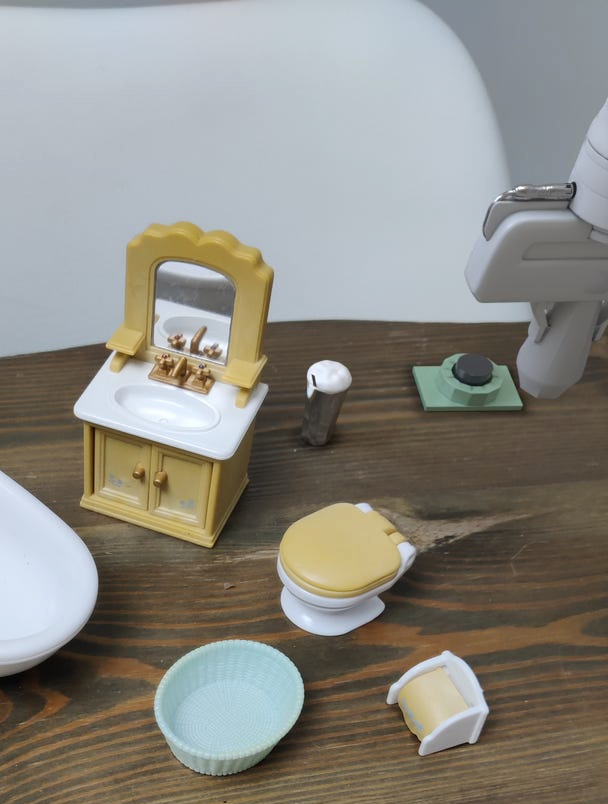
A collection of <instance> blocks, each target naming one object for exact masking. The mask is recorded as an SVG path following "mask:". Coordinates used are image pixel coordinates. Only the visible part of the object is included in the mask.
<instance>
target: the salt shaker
mask: <svg viewBox="0 0 608 804" xmlns="http://www.w3.org/2000/svg"><path fill="white" fill-rule="evenodd" d="M607 292H608V271H601V272H597V273H593V274H591V275H590V277H589V278H588V280H587V281H586V284H585V287H584V293H591V294H601V293H607ZM603 302H604V301H566V302H555V304H554V306H553V308H552V310H547V311H546V310H545V314H546V320H547V324H549V325H550V326H552V327H551V329H550V330H549V332H548V333H547V335H546V336H545V338H544V339H543V341H541V342H532V341H531V339H530V337H529V335H528V336H527V338H526V339H525V341H524V342H523V343H522V345H521V347H520V348H519V351H518V353H517V357H516V361H515V363H516V369H517V373H518V378H519V388H520V389H521V390H523V391H524V392H526V393H527V394H529V395H531V396H532V397H534V398H535V399H558V398H559V397H560V396H561V395H562V394H563V393H564V392H566V391H567V390H568V389H570V388H571V387H572V386H574V385H575V384H576V383H578V382H579V381H580V380H581V378H582V377H583V375H584V371H585V369H586V366H587V361H588V358H589V355H590V351H591V346H592V342H593V341H592V336H593V332H594V328H595V325H596V324H597V321H598V317H599V313H600V310H601V306H602V303H603Z"/></svg>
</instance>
